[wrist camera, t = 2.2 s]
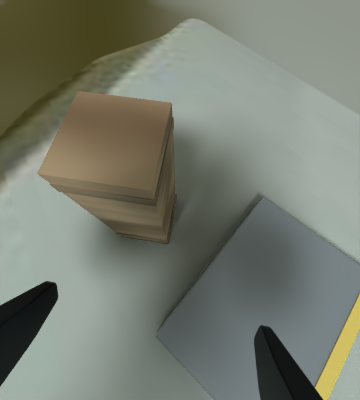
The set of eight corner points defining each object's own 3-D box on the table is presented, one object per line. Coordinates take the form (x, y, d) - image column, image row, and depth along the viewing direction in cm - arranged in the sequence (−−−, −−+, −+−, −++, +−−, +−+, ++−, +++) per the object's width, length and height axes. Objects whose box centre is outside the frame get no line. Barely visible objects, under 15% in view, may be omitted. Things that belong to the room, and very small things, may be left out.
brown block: (168, 244, 20) (152, 193, 8) (119, 236, 20) (34, 175, 8) (176, 198, 22) (174, 101, 10) (131, 191, 22) (76, 89, 10)
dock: (275, 455, 14) (290, 482, 13) (157, 330, 17) (155, 336, 15) (360, 279, 19) (381, 279, 17) (256, 203, 22) (264, 196, 20)
